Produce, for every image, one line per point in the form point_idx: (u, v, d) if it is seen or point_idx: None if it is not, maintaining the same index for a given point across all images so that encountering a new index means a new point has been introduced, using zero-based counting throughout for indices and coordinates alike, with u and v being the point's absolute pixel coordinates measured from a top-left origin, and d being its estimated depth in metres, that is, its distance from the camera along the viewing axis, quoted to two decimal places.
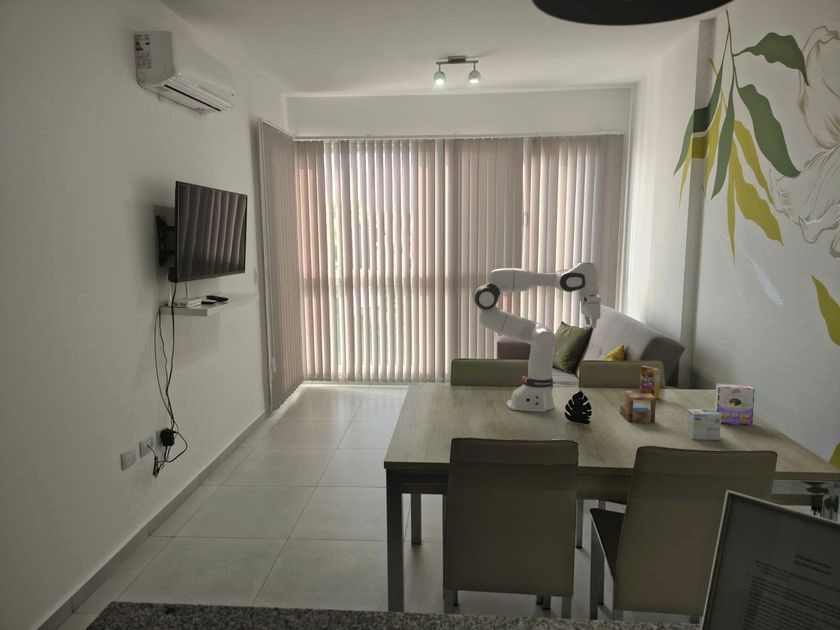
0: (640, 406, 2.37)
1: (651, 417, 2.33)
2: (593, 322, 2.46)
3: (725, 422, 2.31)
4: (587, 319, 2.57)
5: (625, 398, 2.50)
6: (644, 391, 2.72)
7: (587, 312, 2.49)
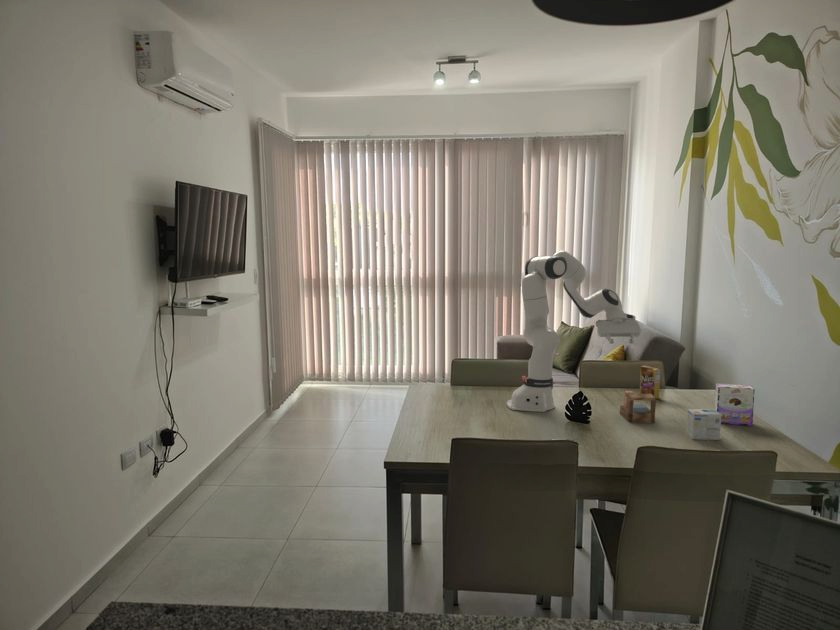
0: (640, 406, 2.37)
1: (651, 417, 2.33)
2: (633, 337, 2.61)
3: (725, 422, 2.31)
4: None
5: (625, 398, 2.50)
6: (644, 391, 2.72)
7: (624, 328, 2.62)
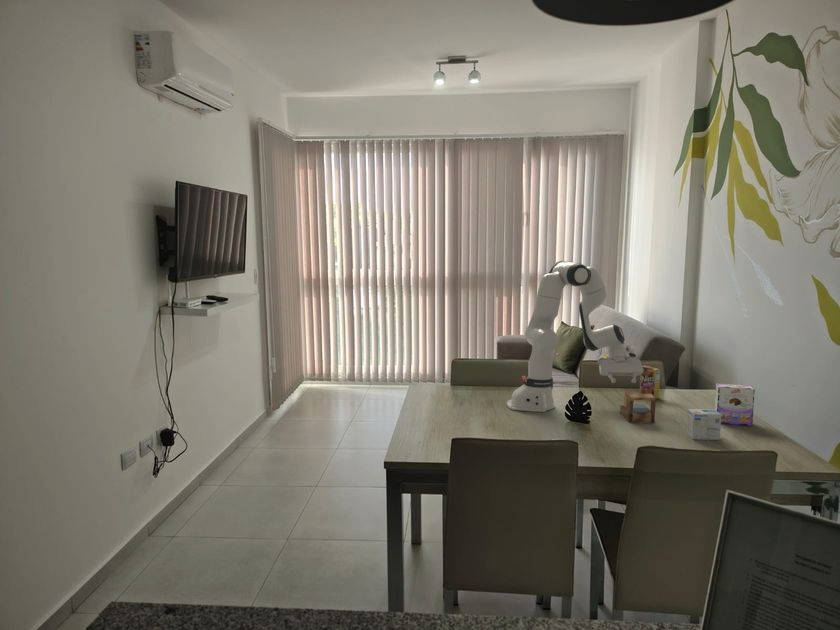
0: (640, 406, 2.37)
1: (651, 417, 2.33)
2: (635, 377, 2.58)
3: (725, 422, 2.31)
4: None
5: (625, 398, 2.50)
6: (644, 391, 2.72)
7: (626, 367, 2.59)
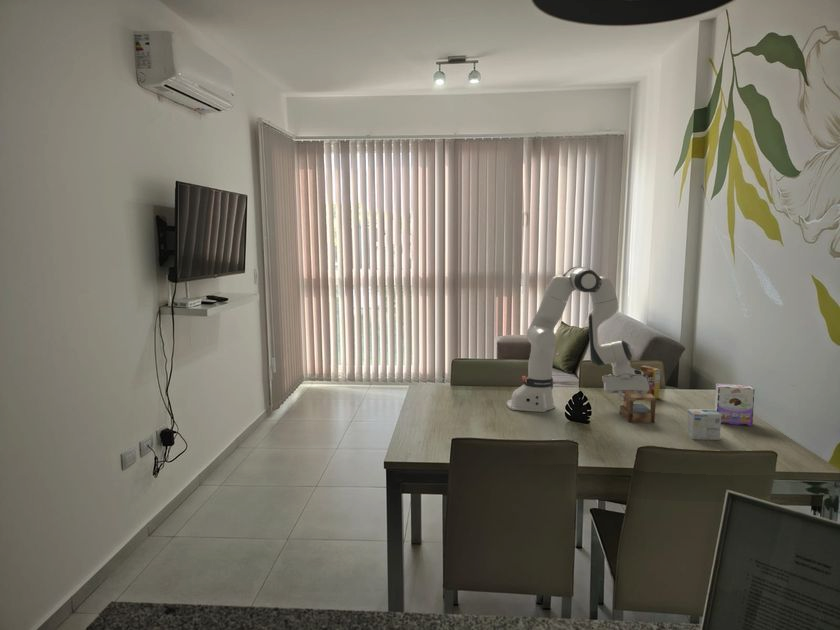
0: (640, 406, 2.37)
1: (651, 417, 2.33)
2: None
3: (725, 422, 2.31)
4: None
5: None
6: None
7: (632, 385, 2.52)
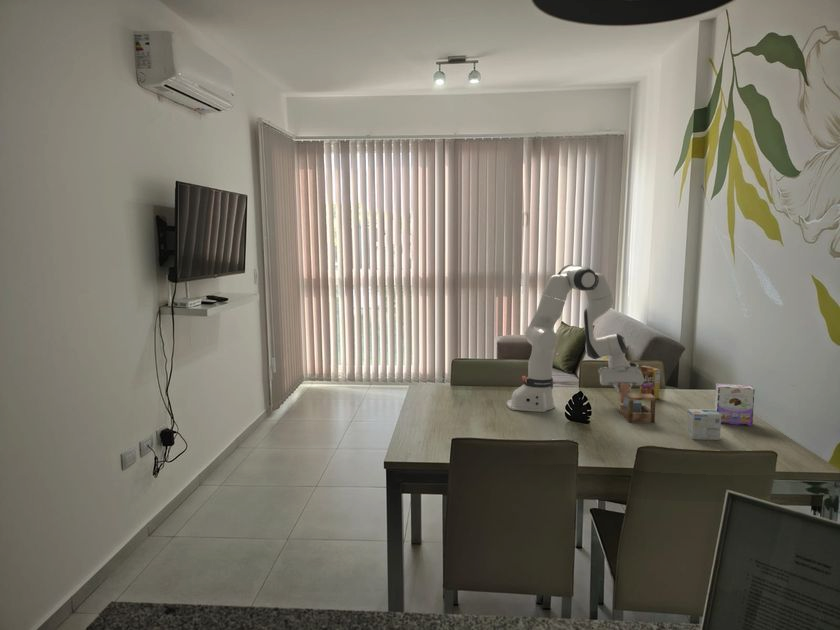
0: (634, 401, 2.44)
1: (651, 417, 2.33)
2: None
3: (725, 422, 2.31)
4: None
5: None
6: (644, 391, 2.72)
7: (627, 377, 2.59)
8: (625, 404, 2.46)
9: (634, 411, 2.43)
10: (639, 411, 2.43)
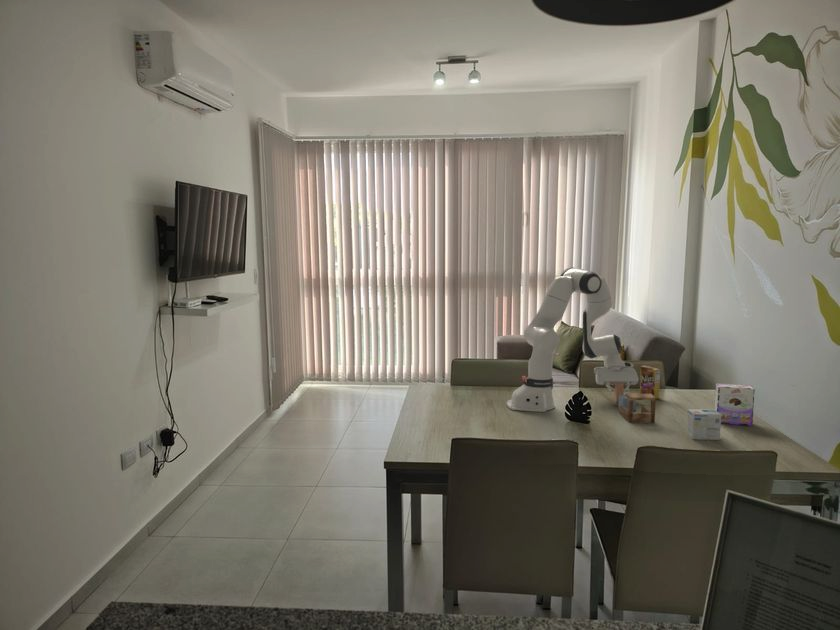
0: None
1: (651, 417, 2.33)
2: None
3: (725, 422, 2.31)
4: None
5: (615, 390, 2.64)
6: (644, 391, 2.72)
7: (622, 377, 2.66)
8: (620, 400, 2.53)
9: None
10: (634, 407, 2.49)
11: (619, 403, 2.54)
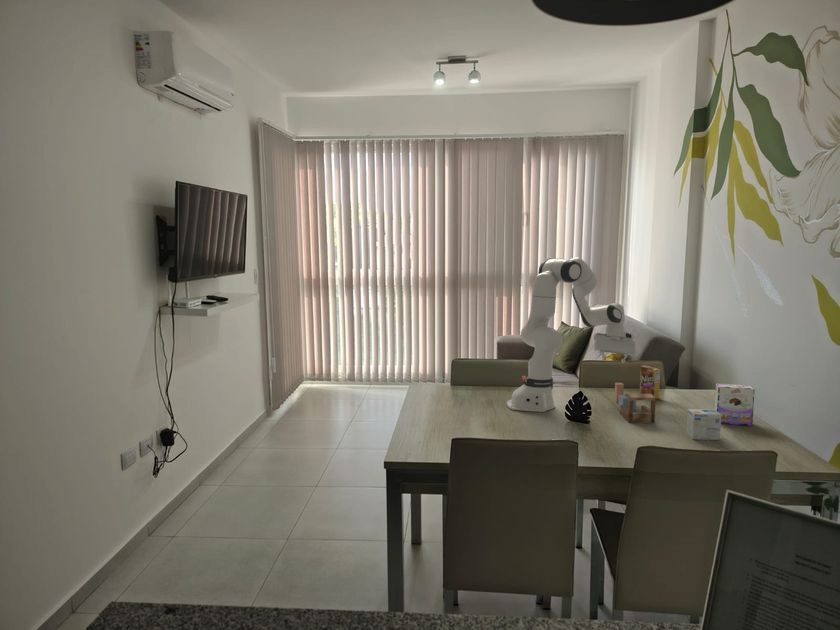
0: None
1: (651, 417, 2.33)
2: (626, 357, 2.70)
3: (725, 422, 2.31)
4: None
5: (615, 390, 2.64)
6: (644, 391, 2.72)
7: (619, 347, 2.70)
8: (620, 400, 2.53)
9: None
10: (634, 407, 2.49)
11: (619, 403, 2.54)
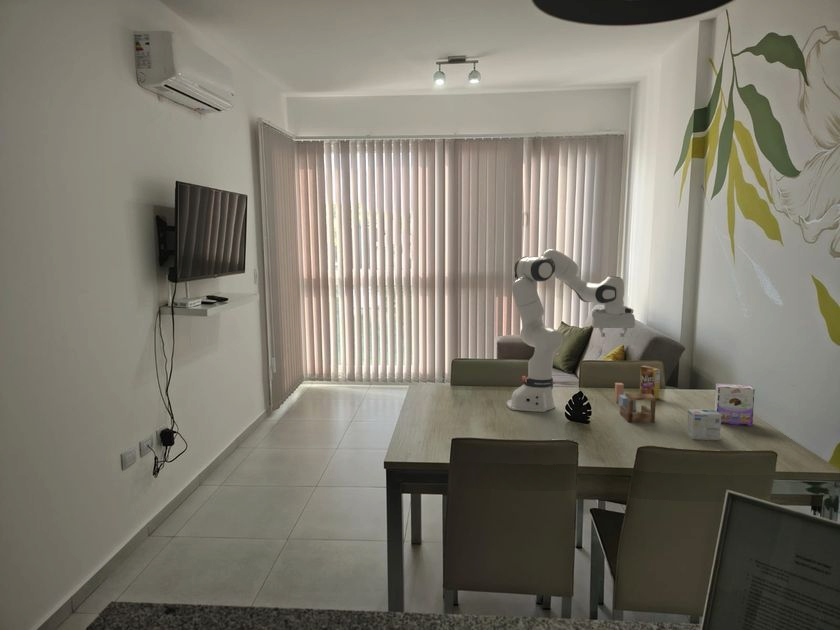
0: None
1: (651, 417, 2.33)
2: None
3: (725, 422, 2.31)
4: None
5: (615, 390, 2.64)
6: (644, 391, 2.72)
7: (619, 323, 2.64)
8: (620, 400, 2.53)
9: None
10: (634, 407, 2.49)
11: (619, 403, 2.54)
